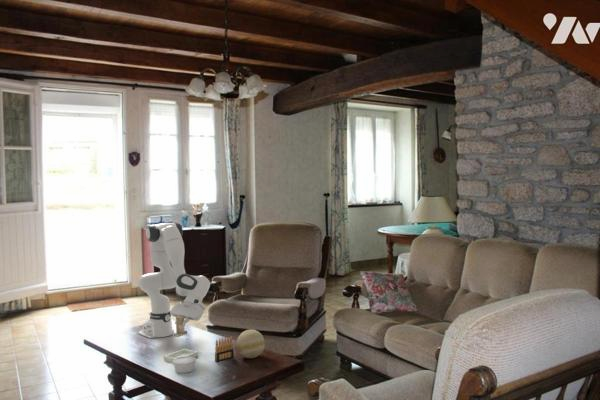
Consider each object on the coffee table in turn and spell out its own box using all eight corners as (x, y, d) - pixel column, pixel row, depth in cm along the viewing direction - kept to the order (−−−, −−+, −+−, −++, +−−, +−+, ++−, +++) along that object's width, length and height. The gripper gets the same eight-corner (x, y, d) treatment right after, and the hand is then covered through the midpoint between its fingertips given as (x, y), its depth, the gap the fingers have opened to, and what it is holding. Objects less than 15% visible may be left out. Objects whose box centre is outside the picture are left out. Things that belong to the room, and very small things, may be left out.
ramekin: (188, 364, 267) (188, 354, 267) (200, 369, 259) (200, 359, 259) (169, 370, 259) (168, 359, 259) (180, 375, 251) (180, 365, 251)
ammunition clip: (216, 362, 268) (216, 340, 268) (214, 362, 270) (214, 339, 269) (234, 358, 275) (233, 336, 274) (232, 357, 276) (231, 335, 276)
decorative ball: (251, 364, 265) (250, 335, 264) (231, 358, 274) (230, 330, 273) (270, 356, 276) (270, 329, 276) (250, 351, 286) (250, 324, 285)
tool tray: (163, 360, 273) (163, 356, 272) (183, 352, 285) (183, 348, 285) (177, 364, 267) (177, 359, 267) (197, 356, 279) (197, 351, 279)
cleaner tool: (173, 336, 273) (173, 317, 273) (183, 333, 279) (182, 314, 279) (177, 337, 272) (177, 318, 271) (187, 333, 277) (186, 315, 277)
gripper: (175, 297, 286) (162, 319, 278) (202, 301, 275) (189, 324, 267) (181, 303, 290) (169, 325, 282) (208, 308, 279) (196, 330, 271)
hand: (179, 324), depth 275 cm, fingers closed on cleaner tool, 3 cm apart
